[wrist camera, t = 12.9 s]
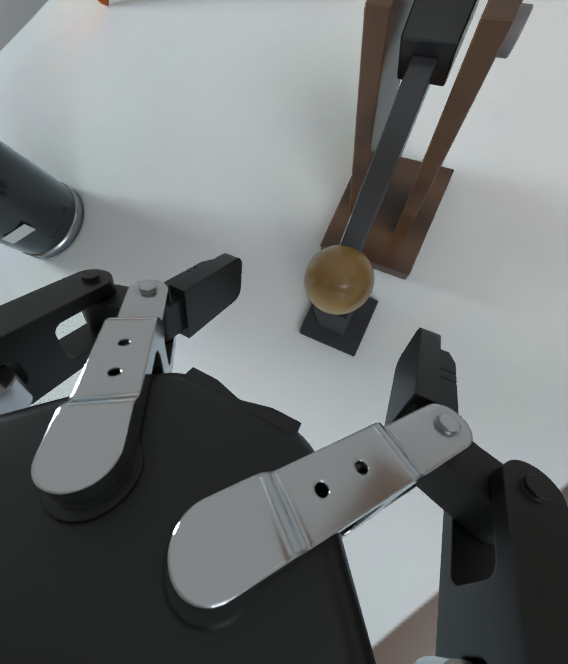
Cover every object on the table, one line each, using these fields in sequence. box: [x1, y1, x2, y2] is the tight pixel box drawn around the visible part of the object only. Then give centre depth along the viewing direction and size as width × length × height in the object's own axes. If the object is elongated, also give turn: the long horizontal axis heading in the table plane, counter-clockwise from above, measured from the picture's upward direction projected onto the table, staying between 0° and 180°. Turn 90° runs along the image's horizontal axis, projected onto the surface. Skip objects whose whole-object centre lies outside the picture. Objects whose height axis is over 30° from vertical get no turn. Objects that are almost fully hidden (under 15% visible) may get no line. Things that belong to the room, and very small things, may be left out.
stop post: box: [300, 298, 378, 356], centre depth 20 cm, size 5×5×8 cm
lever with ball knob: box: [304, 0, 480, 315], centre depth 13 cm, size 14×4×4 cm, turn 155°
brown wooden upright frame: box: [321, 0, 533, 279], centre depth 17 cm, size 10×8×16 cm
